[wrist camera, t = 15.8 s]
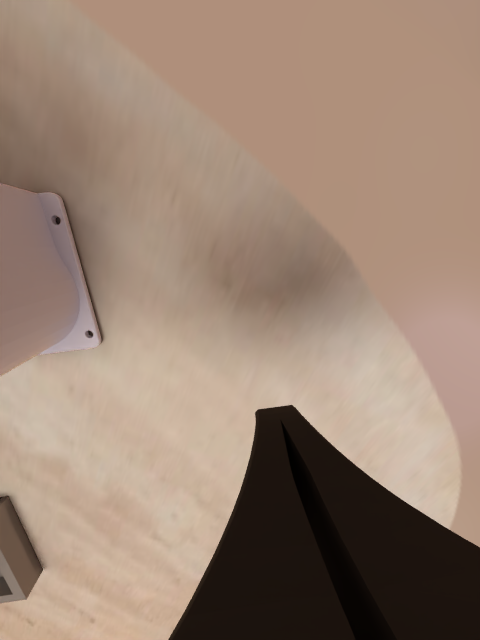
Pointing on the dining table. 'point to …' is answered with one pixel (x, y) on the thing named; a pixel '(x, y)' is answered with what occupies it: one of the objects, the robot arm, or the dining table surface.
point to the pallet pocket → (15, 557)
